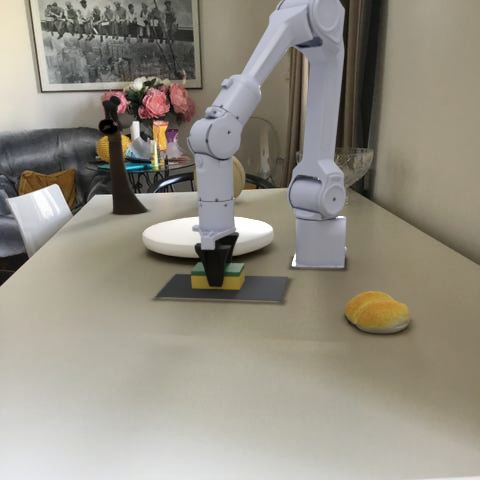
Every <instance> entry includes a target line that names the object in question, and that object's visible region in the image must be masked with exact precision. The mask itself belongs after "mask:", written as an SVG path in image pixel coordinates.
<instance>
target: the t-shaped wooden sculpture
mask: <svg viewBox="0 0 480 480" xmlns="http://www.w3.org/2000/svg"><path fill="white" fill-rule="evenodd" d="M101 104H102V107H103V111H104V113H103V114H104V119H101V120H99V122H98V125H97V126H98V127H97V128H98V131H99V132H100V134H102V136H105V137H107V143H108V144H107V145H108V156H109V157H108V158H109V177H110V186H111V199H112V214H115V215H130V214H131V215H133V214H140V213H146V212H148V208H147V207H146V206H145V205H144V204H143V203H142V202H141V201H140V199H139V198H138V197H137V195H136V193H135V192H134V190H133V188H132V185H131V183H130V179H129V175H128V171H127V168H126V163H125V158H124V149H123V138H122V133H123V130H126V129H129V128H131V127H132V126H133V123H134V119H133V117H132V116H131V115H130V114H128V113H120V114H118V111H119V106H120V105H121V104H122V100H121V98H120V97H119V96H117V95H111V96H110V97H109V99H105V100H103V101H101Z"/></svg>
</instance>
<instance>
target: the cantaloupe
mask: <svg viewBox="0 0 480 480" xmlns="http://www.w3.org/2000/svg"><path fill="white" fill-rule="evenodd" d="M241 163H242V162H240V161H239V159H238V158H237V157H236V156H235V155H233V187H234V201H235V200H236V199H237V198H239V196H240V195H241V194H242V192H243V190H244V188H245V185H246V184H245V183H246V172H245V169H244V167H243V165H242V164H241ZM193 183H194V187H195V190H196V191H197V177H196V166H195V168H194V171H193Z"/></svg>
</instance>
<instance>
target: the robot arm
mask: <svg viewBox="0 0 480 480" xmlns="http://www.w3.org/2000/svg"><path fill="white" fill-rule="evenodd" d="M345 15H346V9H345V7H344V6H343V4H342V2H341V1H340V0H280V1H279V2H278V4H277V5H276V7H275V10H274V11H272V13H271V14H270V15H269V17H268V26H267V28H266V29H265V31H264V33H263V35H262V36H261V38H260V39H259V42H258V44H257V45H256V47H255V49H254V50H253V53H252V54H251V56H250V58H249V59H248V61H247V63H246V65H245V67H244V69H243V70H242V72H241V74H232V75H231V76H230V77H229V78H224V79H223V81H222V82H221V84H220V87H221V88H222V89H221V90H220V92H219V93H218V95H217V96H216V98H215V99H214V101H213V103H212V104H211V106H208V107H206V109H205V111H204V114H205V116H204V118H203V117H202V118H200V119H198V120H196V121H195V122H194V123H193V125H192V126H191V128H190V131H189V136H188V137H186V144H187V148H188V150H189V151H190V152H191V153H192V155H193V158H194V165H195V167H196V177H197V190H196V192H197V193H196V195H197V209H198V210H197V211H198V217H199V225H194V226H193V227H192V231H196V232H199V234H200V236H201V243H197V244H196V245H195V246H194V247H195V252H196V253H197V255H198V256H199V258H198V259H199V260H200V262H202V264H203V267H204V270H205V274H206V277H207V281H208V284H209V286H210V287H222V285H223V281H224V272H225V264H226V263H232V260H233V256H232V255H233V250H234V247H235V244H236V241H237V239H238V237H239V233H238V232H235V231H236V225H235V218H234V217H235V200H234V187H233V156H235V154H236V152H237V151H239V149H240V146H241V142H242V141H241V140H242V136H241V135H242V132H243V128H244V127H245V125H246V124H247V122H248V121H249V119H250V118H251V116H252V114H253V113H254V111H255V109H256V108H257V107H258V105H259V103H260V102H261V100H262V92H261V87H262V85H263V84H264V83H265V81H266V80H267V78H268V77H269V76H270V75H271V73H272V71H273V70H274V69H275V68H276V66H277V65H278V64H279V62H280V61H281V60H282V58H283V57H284V55H285V54H286V53H287V51H288V50H289V48H291V47H293V48H294V49H296V50H298V51H299V52H300V53H301V54H303V56H304V57H305V58H306V60H307V61H308V62H309V73H308V87H307V99H306V111H305V121H304V122H305V123H304V133H303V134H304V136H303V137H304V138H303V148H302V159H301V161H299V162H298V164H297V165H295V167H294V168H293V169H292V175H291V180H290V183H289V185H288V186H287V191H286V200H287V203H288V205H289V207H290V208H291V209H292V210H293V211H292V213H293V215H295V233H294V235H295V240H294V242H295V243H294V247H295V248H294V255H293V259H292V262H291V265H290V266H291V267H293V268H322V269H323V268H324V269H325V268H326V269H327V268H330V269H344V268H345V258H346V257H348V256H347V255H348V247H347V246H346V235H347V216H341V215H340V216H339V214H340V213H341V211H342V210H344V209H343V208H344V206H345V204H346V199H347V192H346V189H345V173H344V172H343V170H342V169H341V168H340V167H339V166H338V164H336V162H335V152H336V142H337V134H338V133H337V132H338V131H337V130H338V122H339V111H340V102H341V93H342V82H343V81H342V80H343V71H344V60H345V44H344V43H345V42H344V36H343V33H344V24H345Z"/></svg>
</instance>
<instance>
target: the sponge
mask: <svg viewBox="0 0 480 480" xmlns="http://www.w3.org/2000/svg"><path fill="white" fill-rule="evenodd" d="M245 272H246V271H245V262H243V263H242V262H241V263H240V262H231V263H226V264H225V272H224V281H223V285H222V287H210V286H209V284H208V281H207V277H206V274H205V270H204V267H203V264H202V262H201V261H200V262H197V263H196V264H195V265H194V267H193V268H192V269H191V270H190V274H191V281H192V288H196V289H231V290H240V288H241V286H242V284H243V282H244V281H245V276H246V274H245Z"/></svg>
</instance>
